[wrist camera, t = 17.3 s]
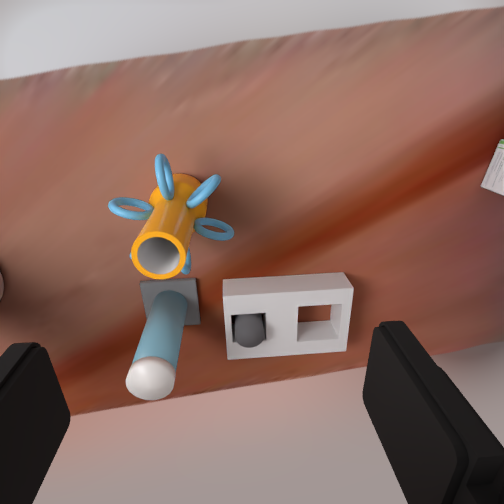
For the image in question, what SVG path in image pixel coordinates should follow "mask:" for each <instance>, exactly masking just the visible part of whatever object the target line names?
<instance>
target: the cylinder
mask: <svg viewBox="0 0 504 504" xmlns="http://www.w3.org/2000/svg"><path fill="white" fill-rule="evenodd" d="M155 172H156V178H157V182H158V186H157V187H156V188H155V190H154V191H153V193H152V194H151V197H150V199H149V203H147V202H144V201H141V200H138V199H134V198H126V197H120V198H114V199H112V200H111V201H110V202H109V204H108V207H109V209H110V211H111V212H113V213H114V214H116V215H118V216H120V217H123V218H127V219H132V220H147V219H148V220H147V222H146V224H145V225H144V227H143V229H142V230H141V232H140V234H139V235H138V237H137V239H136V240H135V242H134V244H133V246H132V250H131V253H130V258H131V259H132V261H133V263H134V265H135V267H136V268H137V269H138V270H139V271H140V272H141V273H142V274H144V275H146V276H148V277H150V278H154V279H168V278H171V277H173V276H175V275H177V274H178V273H179V272H180V271H181V272H182V273H183V274H189V273H190V271H191V255H190V249H189V244H190V239H191V235H192V233H193V232H195V231H196V232H197V233H199V234H200V235H202V236H204V237H207V238H210V239H213V240H220V241H224V240H229V239H231V238H233V236H234V230H233V228H232V227H231V226H230V225H228V224H226V223H224V222H222V221H220V220H216V219H212V218H205V216H206V211H207V204H208V197H209V196H210V195H211V194H212V193H213V191H214V190H215V189H216V188H217V187H218V185H219V184H220V182H221V177H220V176H219V175H218V174H215V175H213V176H211V177H210V178H208V179H207V180H206V181H205V182H203V183H202V184H201V183H200V182H199V181H198V180H197V179H196V178H194V177H192V176H190V175H187V174H172V171H171V167H170V164H169V162H168V159H167V158H166V156H165V155H164V154H158V155H157V156H156V158H155ZM120 205H128V206H135V207H138V208H141V209H143V210H145V211H144V212H136V211H130V210H126V209H123V208H121V207H119V206H120ZM201 225H210V226H214V227H217V228H220V229H222V230H224V231H225V233H220V232H214V231H211V230H208V229H206V228H204V227H202V226H201Z"/></svg>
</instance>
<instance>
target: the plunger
mask: <svg viewBox="0 0 504 504" xmlns="http://www.w3.org/2000/svg"><path fill="white" fill-rule="evenodd" d="M234 321H235V339H236V341H237V343H238V344H239V345H241V346H243V347H246V348H252V347H256V346H258V345H259V344H261V343H262V341H263V340H264V336H265V335H264V328H263V322H262V316H261V313H254V314H238V315H234Z"/></svg>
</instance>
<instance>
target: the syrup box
mask: <svg viewBox="0 0 504 504" xmlns="http://www.w3.org/2000/svg"><path fill="white" fill-rule="evenodd" d="M481 187H482V188H485V189H487V190H490V191H493V192H495V193H497V194H500V195H503V196H504V139H502V140H500V142H499V144H498V146H497V149H496V151H495V153H494V156H493V158H492V160H491V163H490V165H489V167H488V170H487V172H486V175H485V177H484V179H483V182H482V184H481Z"/></svg>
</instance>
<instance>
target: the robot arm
mask: <svg viewBox="0 0 504 504" xmlns="http://www.w3.org/2000/svg"><path fill="white" fill-rule="evenodd" d="M3 290H4V284H3V278H2V275H1V272H0V300H1V298H2V296H3ZM363 401H364V404H365V407H366V409H367V411H368V414H369V416H370V418H371V421H372V423H373V425H374V427H375V430H376V432H377V434H378V436H379V439H380V441H381V443H382V446H383V448H384V450H385V452H386V455H387V457H388V459H389V462H390V464H391V466H392V468H393V471H394V473H395V475H396V477H397V480H398V482H399V484H400V487H401V489H402V491H403V493H404V496H405V498H406V500H407V502H408V504H504V448H503V446H502V445H501V443H500V442H499V441H498V440H497V438H496V437H495V436H494V434H493V433H492V432H491V431H490V429H489V428H488V427H487V425H486V424H485V423H484V422H483V420H482V419H481V418H480V416H479V415H478V414H477V413H476V411H475V410H474V409H473V407H472V406H471V405H470V404H469V402H468V401H467V400H466V398H465V397H464V396H463V395H462V393H461V392H460V391H459V389H458V388H457V387H456V386H455V384H454V383H453V382H452V380H451V379H450V378H449V377H448V375H447V374H446V373H445V372H444V371H443V370H442V369H441V368H440V367H438V366H437V365H436V363H435V362H434V361H433V359H432V358H431V357H430V356H429V354H428V353H427V352H426V350H425V349H424V348H423V346H422V345H421V344H420V343H419V341H418V340H417V339H416V337H415V336H414V335H413V333H412V332H411V331H410V330H409V328H408V327H407V326H406V324H405V323H404V322H403V321H386V322H381V323H380V324H379V327H375V328H374V331H373V336H372V342H371V347H370V353H369V359H368V365H367V371H366V376H365V382H364V387H363ZM69 424H70V411H69V409H68V406H67V403H66V401H65V398H64V395H63V393H62V390H61V387H60V385H59V382H58V379H57V376H56V374H55V371H54V368H53V366H52V363H51V360H50V358H49V355H48V352H47V350H46V349H45V348H44V347H41V346H40V344H38V343H36V342H32V343H15V344H12V345H11V346H9V347H8V348H7V350H6V351H5V352H4V353H3V354H2V356H1V357H0V504H32V503H33V501H34V499H35V497H36V495H37V493H38V490H39V488H40V486H41V484H42V482H43V480H44V478H45V475H46V474H47V471H48V469H49V467H50V465H51V463H52V461H53V459H54V457H55V454H56V452H57V450H58V448H59V446H60V444H61V442H62V440H63V438H64V435H65V433H66V431H67V429H68V426H69Z"/></svg>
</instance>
